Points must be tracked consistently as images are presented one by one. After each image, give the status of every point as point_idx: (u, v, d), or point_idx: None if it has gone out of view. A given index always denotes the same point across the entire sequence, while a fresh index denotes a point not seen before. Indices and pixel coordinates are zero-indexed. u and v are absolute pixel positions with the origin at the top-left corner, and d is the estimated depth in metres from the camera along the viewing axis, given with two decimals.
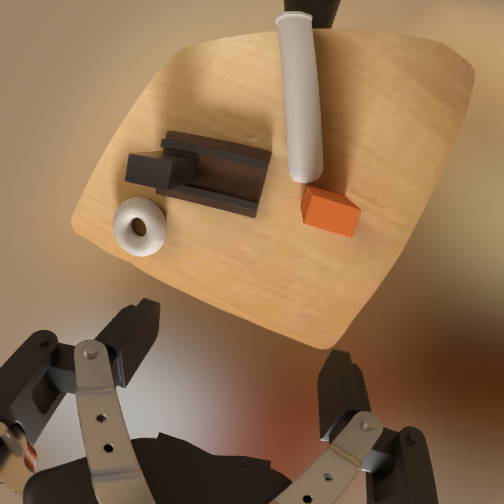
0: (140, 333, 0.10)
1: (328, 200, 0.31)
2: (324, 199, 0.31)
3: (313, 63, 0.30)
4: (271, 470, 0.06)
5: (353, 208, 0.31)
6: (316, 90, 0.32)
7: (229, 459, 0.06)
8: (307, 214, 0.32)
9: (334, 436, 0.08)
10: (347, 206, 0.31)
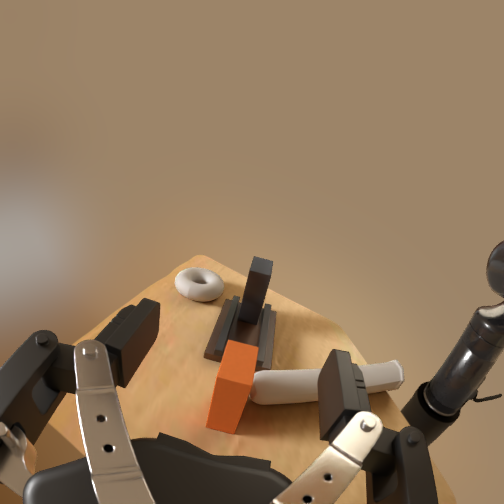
0: (139, 333, 0.10)
1: (255, 358, 0.29)
2: (256, 355, 0.29)
3: None
4: (271, 470, 0.06)
5: (252, 378, 0.26)
6: None
7: (229, 459, 0.06)
8: (238, 342, 0.30)
9: (334, 436, 0.08)
10: (253, 373, 0.27)
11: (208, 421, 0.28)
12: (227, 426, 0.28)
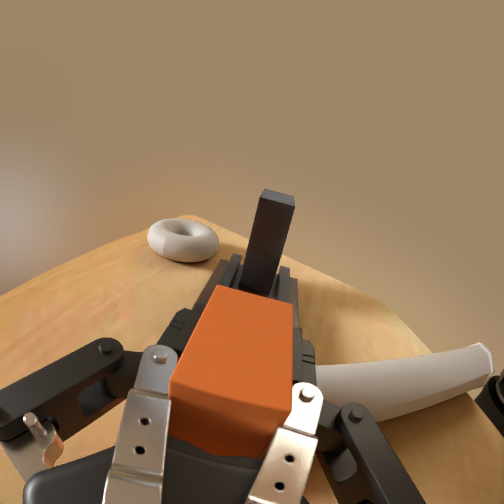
0: None
1: (290, 329, 0.11)
2: (290, 321, 0.11)
3: (455, 380, 0.17)
4: None
5: (288, 386, 0.08)
6: (429, 389, 0.16)
7: (229, 459, 0.06)
8: (241, 292, 0.12)
9: None
10: (289, 370, 0.08)
11: None
12: None
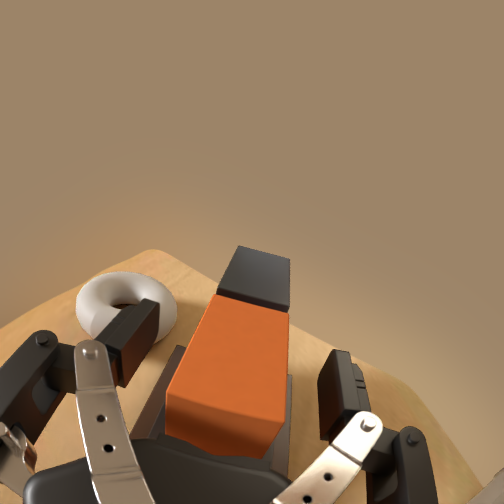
0: (140, 333, 0.10)
1: (285, 339, 0.11)
2: (285, 331, 0.11)
3: None
4: (271, 470, 0.06)
5: (282, 398, 0.08)
6: None
7: (229, 459, 0.06)
8: (238, 301, 0.12)
9: (334, 436, 0.08)
10: (283, 381, 0.09)
11: None
12: None
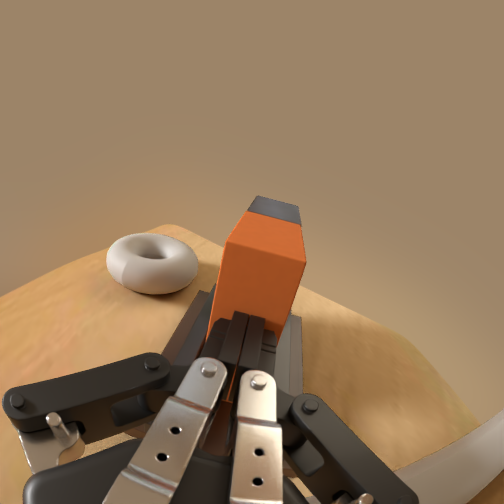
0: None
1: (300, 233, 0.15)
2: (299, 230, 0.16)
3: (503, 463, 0.08)
4: None
5: (302, 253, 0.13)
6: (476, 490, 0.07)
7: (229, 459, 0.06)
8: (263, 215, 0.17)
9: (234, 395, 0.10)
10: (302, 247, 0.13)
11: None
12: None
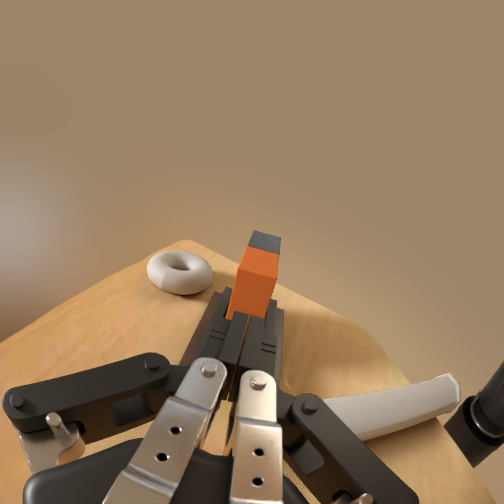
0: None
1: (277, 260, 0.28)
2: (277, 258, 0.29)
3: (417, 411, 0.21)
4: None
5: (275, 273, 0.25)
6: (389, 420, 0.20)
7: (229, 459, 0.06)
8: None
9: (234, 395, 0.10)
10: (276, 270, 0.26)
11: None
12: None
